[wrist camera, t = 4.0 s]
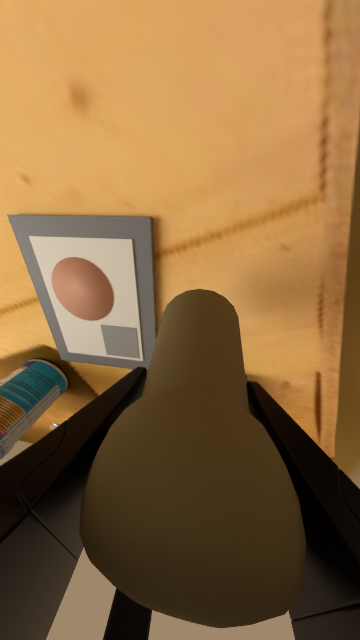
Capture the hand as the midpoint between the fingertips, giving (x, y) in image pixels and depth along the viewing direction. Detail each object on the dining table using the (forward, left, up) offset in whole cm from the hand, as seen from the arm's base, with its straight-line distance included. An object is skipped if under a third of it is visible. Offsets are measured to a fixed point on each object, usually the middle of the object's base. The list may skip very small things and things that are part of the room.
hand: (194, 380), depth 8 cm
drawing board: (-2, +14, -13) cm, 19 cm away
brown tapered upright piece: (0, 0, -6) cm, 6 cm away
